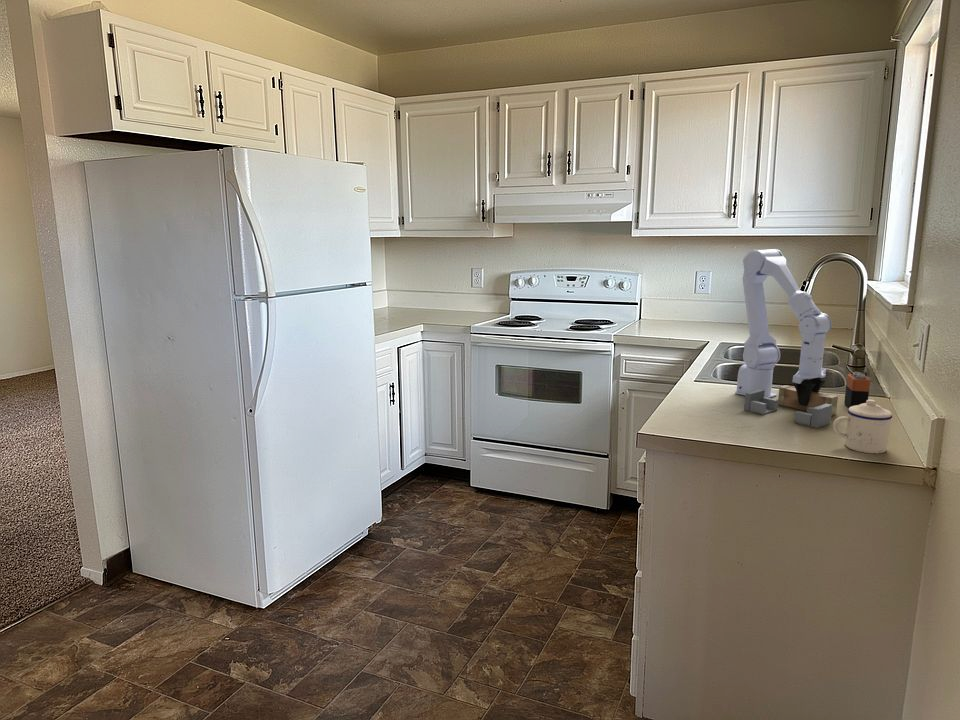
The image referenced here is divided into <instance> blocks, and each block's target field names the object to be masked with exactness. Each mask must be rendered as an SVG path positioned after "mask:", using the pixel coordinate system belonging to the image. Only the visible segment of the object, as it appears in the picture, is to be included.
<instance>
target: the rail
mask: <svg viewBox="0 0 960 720" xmlns="http://www.w3.org/2000/svg"><path fill="white" fill-rule="evenodd" d="M777 397H778V398H777V400H778V405H780V406H785V407H789V408H793V409H797V410H801V411H804V412H805V411H806V412H807V408H809V407H811V408H814V407H817V406H820V405H823V404H831V405H832V412H831V417H832V416H834V415H837V407H838V399H839V396H838V395H835V394H828V393H823V392H818V393H817V392H813V391H812V392H811V394H810V398H809V403H808V405H807V406H803V405H799V401H798V395H797V391H796V388H795V387H793V386H791V385H786V384H785V385H782V386H779V388H778V395H777Z"/></svg>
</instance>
